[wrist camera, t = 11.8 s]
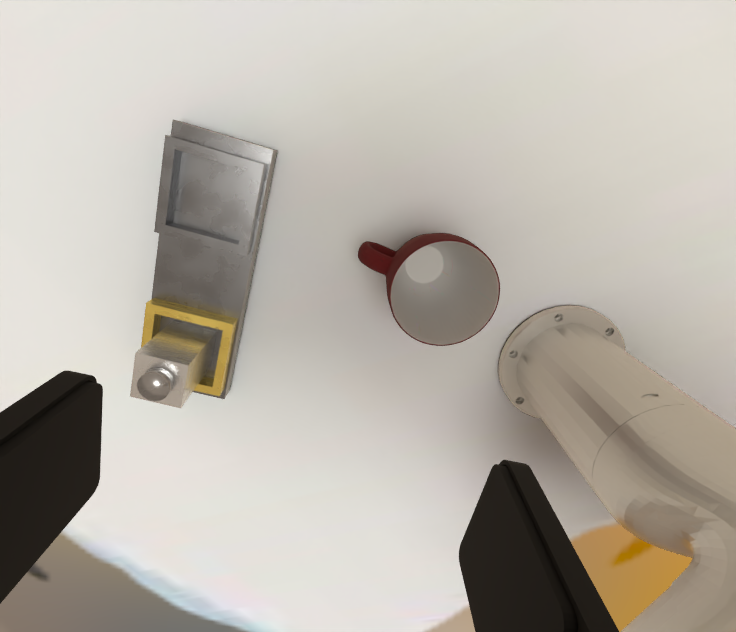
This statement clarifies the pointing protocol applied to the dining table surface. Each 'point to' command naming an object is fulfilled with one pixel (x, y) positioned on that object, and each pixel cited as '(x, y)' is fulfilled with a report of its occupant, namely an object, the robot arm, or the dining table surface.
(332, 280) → the dining table surface
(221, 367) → the grey flat elongated piece
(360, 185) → the dining table surface
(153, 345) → the knobbed metal block
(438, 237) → the mug
